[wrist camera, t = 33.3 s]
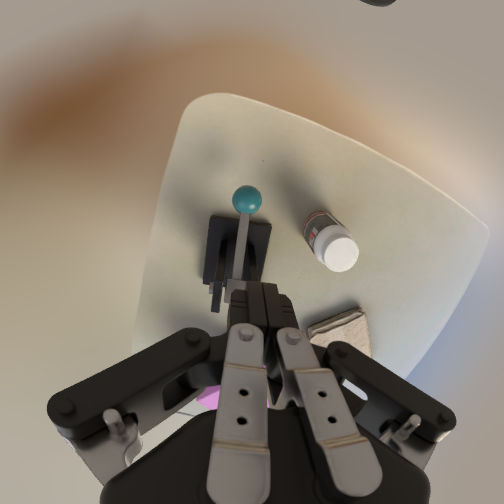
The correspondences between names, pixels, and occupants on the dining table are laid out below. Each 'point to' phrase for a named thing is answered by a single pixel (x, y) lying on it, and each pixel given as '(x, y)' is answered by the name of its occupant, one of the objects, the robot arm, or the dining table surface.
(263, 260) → the bracket
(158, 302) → the dining table surface
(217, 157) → the dining table surface
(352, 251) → the pill bottle
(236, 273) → the lever with teal knob
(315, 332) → the washcloth
